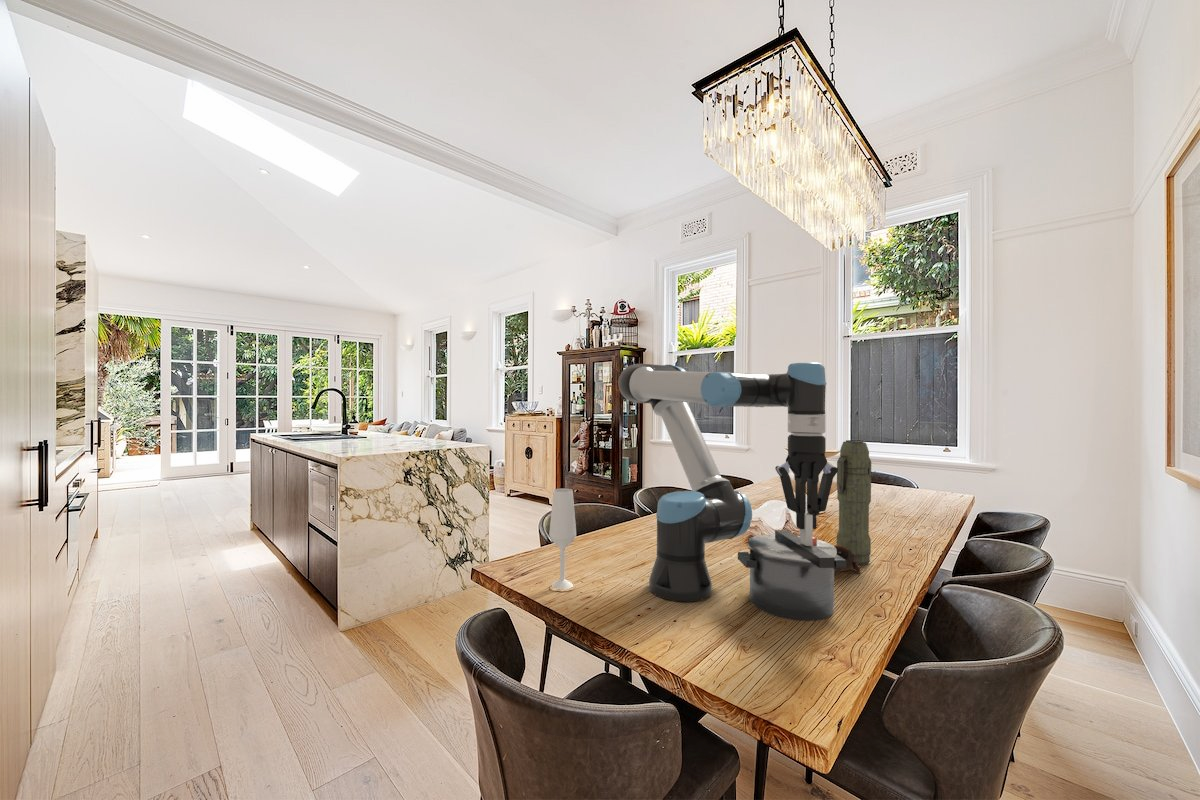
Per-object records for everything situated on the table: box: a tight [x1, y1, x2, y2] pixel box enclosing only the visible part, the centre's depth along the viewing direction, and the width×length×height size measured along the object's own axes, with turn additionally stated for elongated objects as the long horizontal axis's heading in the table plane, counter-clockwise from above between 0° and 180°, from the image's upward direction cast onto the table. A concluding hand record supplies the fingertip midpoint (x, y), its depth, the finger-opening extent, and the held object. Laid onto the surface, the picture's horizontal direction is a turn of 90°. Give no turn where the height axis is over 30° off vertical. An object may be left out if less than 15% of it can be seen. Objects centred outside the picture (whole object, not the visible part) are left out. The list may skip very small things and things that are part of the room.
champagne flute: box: [548, 487, 577, 589], centre depth 119 cm, size 7×7×24 cm
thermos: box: [836, 439, 872, 565], centre depth 142 cm, size 9×12×35 cm
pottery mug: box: [833, 544, 861, 575], centre depth 132 cm, size 12×10×8 cm
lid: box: [747, 529, 837, 568], centre depth 108 cm, size 19×26×3 cm
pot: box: [737, 549, 846, 622], centre depth 113 cm, size 23×21×12 cm
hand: (806, 543), depth 104 cm, fingers closed
